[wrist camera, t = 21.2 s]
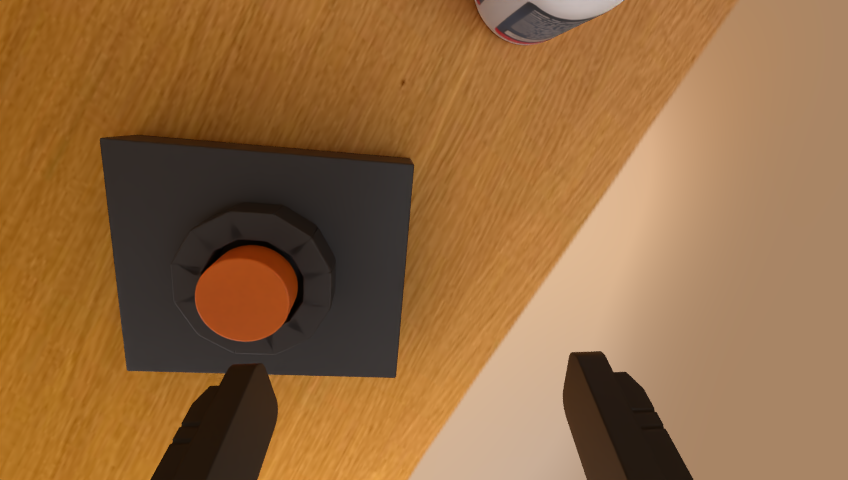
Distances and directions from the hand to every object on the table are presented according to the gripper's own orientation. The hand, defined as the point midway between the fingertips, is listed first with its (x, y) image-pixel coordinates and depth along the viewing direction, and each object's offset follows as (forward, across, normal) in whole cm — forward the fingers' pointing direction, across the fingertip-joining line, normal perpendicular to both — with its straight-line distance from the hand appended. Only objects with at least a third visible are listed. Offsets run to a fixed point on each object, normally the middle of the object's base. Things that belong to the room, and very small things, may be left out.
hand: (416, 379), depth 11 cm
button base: (+11, +8, +3) cm, 14 cm away
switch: (+7, +7, +2) cm, 10 cm away
